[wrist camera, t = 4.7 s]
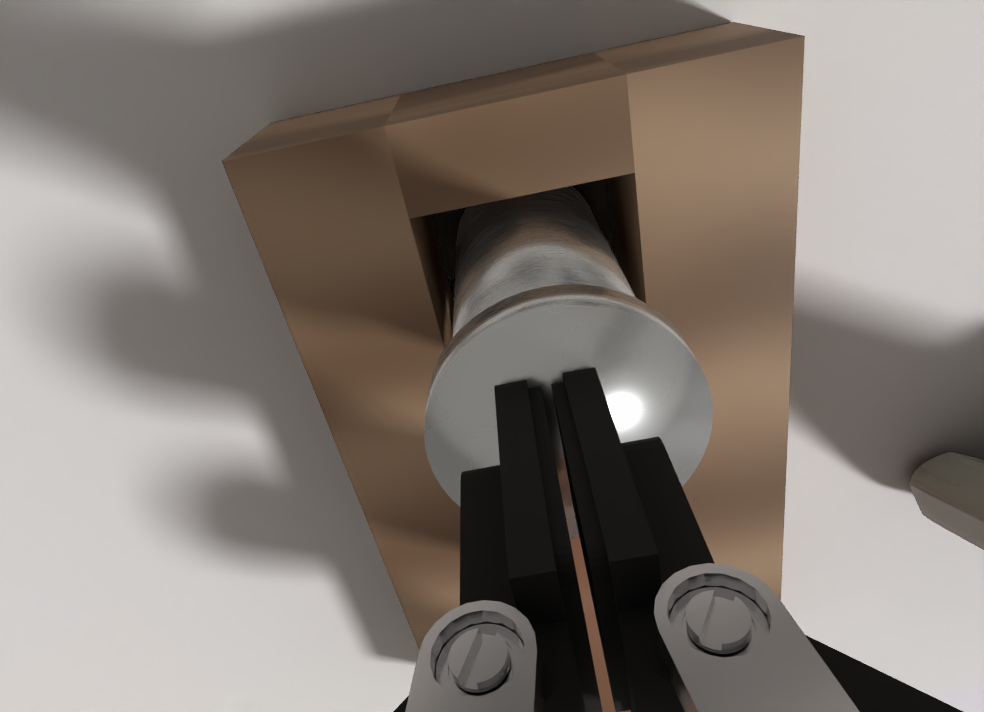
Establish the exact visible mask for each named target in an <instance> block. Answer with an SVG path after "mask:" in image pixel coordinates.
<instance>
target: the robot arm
mask: <svg viewBox="0 0 984 712" xmlns="http://www.w3.org/2000/svg"><path fill="white" fill-rule="evenodd" d="M562 376H563V382H559V383H554V384H551V387H552V392H553V398H554V403H555V409H556V414H557V420H558V425H559V431H560V436H561V442H562V447H563V453H564V458H565V464H566V469H567V475H568V480H569V486H570V491H571V497H572V503H573V508H574V513H575V518H576V523H577V528H578V533H579V538H580V543H581V547H582V552H583V557H584V562H585V567H586V572H587V577H588V581H589V586H590V591H591V596H592V601H593V606H594V610H595V615H596V620H597V625H598V630H599V635H600V639H601V644H602V649H603V654H604V659H605V664H606V668H607V673H608V678H609V683H610V688H611V693H612V697H613V702H614V707H615V711H616V712H622V711H628V710H631V712H963V711H961V710H958V709H956V708H954V707H952V706H950V705H948V704H946V703H944V702H942V701H940V700H938V699H936V698H934V697H932V696H930V695H928V694H926V693H923V692H921V691H919V690H917V689H915V688H913V687H911V686H909V685H907V684H905V683H903V682H901V681H899V680H897V679H895V678H893V677H891V676H888V675H886V674H884V673H882V672H880V671H878V670H876V669H874V668H872V667H870V666H868V665H866V664H864V663H862V662H860V661H858V660H856V659H853V658H851V657H849V656H847V655H845V654H843V653H841V652H839V651H837V650H835V649H833V648H831V647H829V646H827V645H825V644H823V643H821V642H818V641H816V640H814V639H812V638H810V637H808V636H806V635H805V634H804V633H803V631H802V630H801V629H800V627H799V626H798V624H797V623H796V622H795V620H794V619H793V617H792V616H791V615H790V613H789V612H788V610H787V609H786V608H785V606H784V605H783V603H782V602H781V601H780V599H779V598H778V596H777V595H776V594H775V593H774V592H773V591H772V590H771V589H770V588H769V587H768V586H767V585H766V584H765V582H764V581H762V580H761V579H759V578H757V577H756V576H754V575H752V574H751V573H749V572H747V571H745V570H742V569H739V568H736V567H733V566H730V565H725V564H715V563H714V560H713V558H712V556H711V553H710V551H709V549H708V546H707V544H706V542H705V539H704V537H703V535H702V532H701V530H700V528H699V525H698V523H697V521H696V518H695V516H694V514H693V511H692V509H691V507H690V504H689V502H688V500H687V497H686V495H685V493H684V490H683V488H682V486H681V483H680V481H679V479H678V476H677V474H676V472H675V469H674V467H673V465H672V462H671V460H670V458H669V455H668V453H667V451H666V448H665V446H664V444H663V442H662V440H661V438H659V437H653V438H647V439H641V440H636V441H630V442H625V443H621V442H620V439H619V436H618V433H617V430H616V427H615V424H614V421H613V418H612V415H611V412H610V409H609V406H608V403H607V400H606V397H605V394H604V391H603V388H602V385H601V382H600V380H599V377H598V374H597V371H596V368H595V367H591V368H586V369H581V370H575V371H570V372H565V373H562ZM494 392H495V405H496V418H497V432H498V445H499V459H500V465H496V466H491V467H485V468H480V469H474V470H468V471H463V472H462V473H461V481H460V606H459V607H457V608H455V609H452V610H450V611H449V612H448V613H446V614H445V615H444V616H443V617H441V618H440V619H439V620H438V621H436V622H435V624H434V625H433V626H432V628H431V629H430V630H429V632H428V633H427V634H426V635H425V637H424V640H423V642H422V645H421V648H420V650H419V653H418V657H417V662H416V666H415V671H414V675H413V679H412V684H411V688H410V693H409V696H408V697H407V698H406V699H405V700H404V701H403V702H402V703H401V704H400V705H399V707H398V708H397V709H396V710H395V711H394V712H603V711H602V705H601V700H600V695H599V689H598V684H597V679H596V674H595V668H594V663H593V658H592V652H591V647H590V642H589V637H588V631H587V626H586V621H585V615H584V610H583V605H582V600H581V594H580V589H579V584H578V578H577V573H576V568H575V563H574V557H573V552H572V547H571V542H570V536H569V531H568V526H567V520H566V515H565V510H564V505H563V499H562V494H561V489H560V484H559V478H558V473H557V468H556V463H555V458H554V452H553V447H552V442H551V437H550V431H549V426H548V421H547V416H546V410H545V405H544V400H543V395H542V390H541V386H537V387H532V388H528V384H527V380H522V381H517V382H511V383H506V384H501V385H495V386H494Z"/></svg>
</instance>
